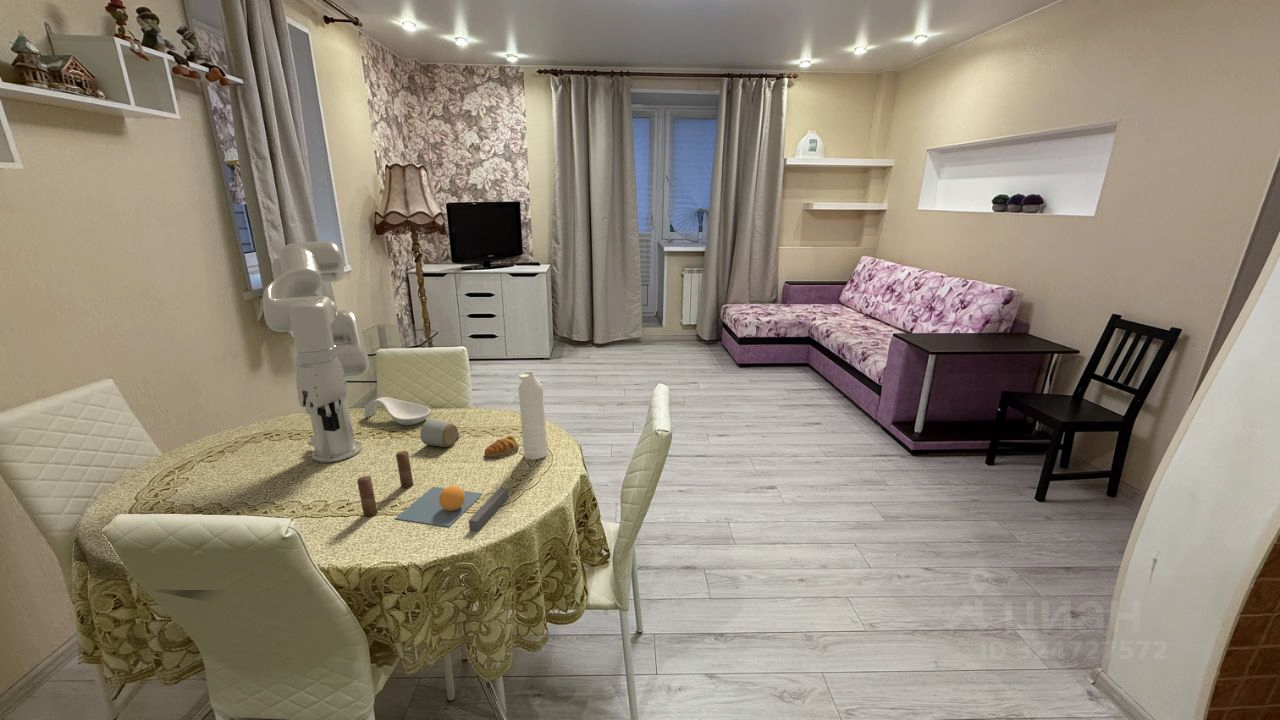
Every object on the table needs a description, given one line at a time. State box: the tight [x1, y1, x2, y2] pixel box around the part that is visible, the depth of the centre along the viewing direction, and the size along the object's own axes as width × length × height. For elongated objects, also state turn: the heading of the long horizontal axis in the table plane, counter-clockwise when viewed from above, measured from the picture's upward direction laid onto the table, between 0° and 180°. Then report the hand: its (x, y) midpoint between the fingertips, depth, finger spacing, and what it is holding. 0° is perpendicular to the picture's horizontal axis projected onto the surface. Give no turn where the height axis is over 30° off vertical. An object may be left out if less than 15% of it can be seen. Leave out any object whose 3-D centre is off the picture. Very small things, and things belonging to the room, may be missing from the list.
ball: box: [439, 485, 465, 511], centre depth 122 cm, size 6×6×6 cm
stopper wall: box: [468, 487, 510, 532], centre depth 120 cm, size 2×14×2 cm, turn 166°
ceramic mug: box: [420, 418, 461, 448], centre depth 156 cm, size 11×8×8 cm
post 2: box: [395, 450, 414, 489], centre depth 132 cm, size 3×3×9 cm
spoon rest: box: [364, 396, 432, 426], centre depth 174 cm, size 24×12×7 cm, turn 72°
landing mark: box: [394, 486, 484, 528], centre depth 124 cm, size 14×14×1 cm
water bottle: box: [517, 369, 548, 461], centre depth 144 cm, size 9×6×25 cm
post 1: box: [356, 475, 378, 518], centre depth 120 cm, size 3×3×9 cm
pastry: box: [484, 435, 520, 459], centre depth 150 cm, size 9×7×4 cm
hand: (332, 429), depth 125 cm, fingers closed
